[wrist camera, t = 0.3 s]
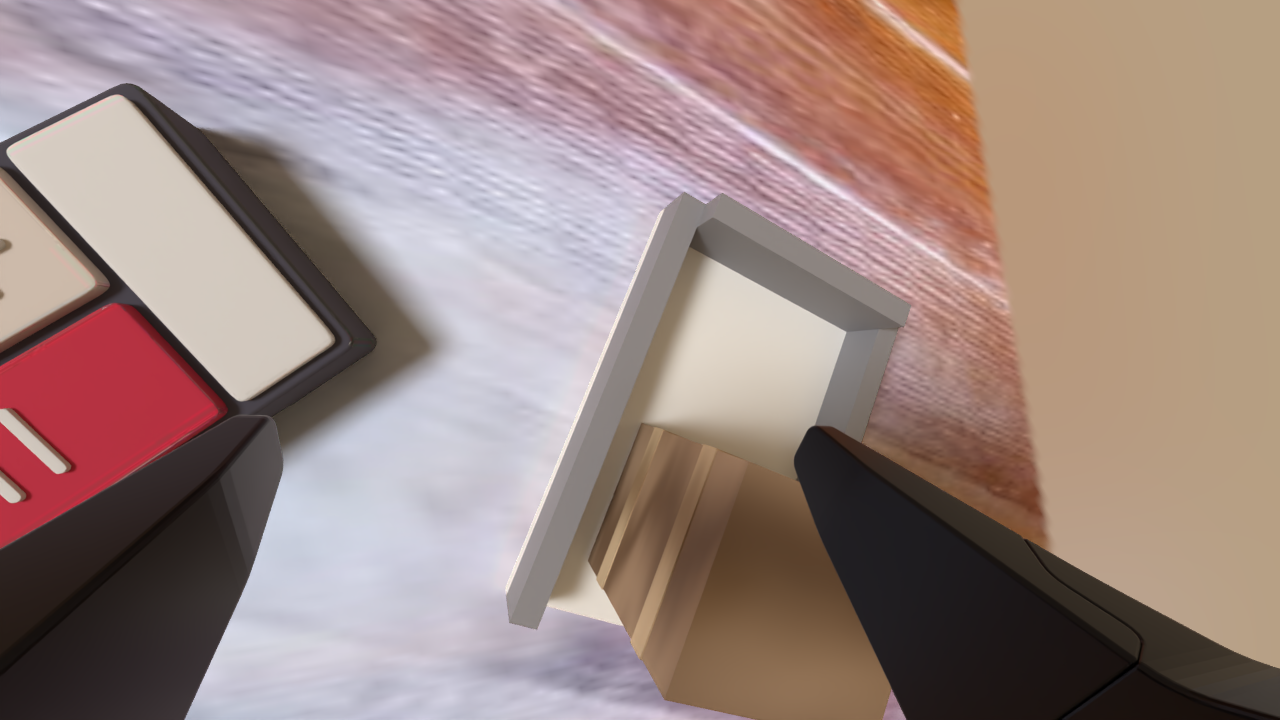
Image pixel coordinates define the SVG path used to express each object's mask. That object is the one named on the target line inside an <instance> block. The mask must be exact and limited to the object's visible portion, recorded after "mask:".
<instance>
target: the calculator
mask: <svg viewBox="0 0 1280 720" xmlns="http://www.w3.org/2000/svg"><path fill="white" fill-rule="evenodd" d="M375 346H376V339H375V337H374V335H373V334H372V333H371V332H370V330H369V329H368V328H367V327H366V326H365V324H364V323H363V322H362V321H361V320H360V318H359V317H358V316H357V315H356V314H355V313H354V311H353V310H352V309H351V308H350V307H349V305H348V304H347V303H346V302H345V301H344V300H343V298H342V297H341V296H340V295H339V294H338V292H337V291H336V290H335V289H334V288H333V287H332V285H331V284H330V283H329V282H328V281H327V279H326V278H325V277H324V276H323V275H322V274H321V272H320V271H319V270H318V269H317V268H316V266H315V265H314V264H313V263H312V262H311V260H310V259H309V258H308V257H307V256H306V255H305V253H304V252H303V251H302V250H301V249H300V247H299V246H298V245H297V244H296V243H295V242H294V240H293V239H292V238H291V237H290V236H289V234H288V233H287V232H286V231H285V230H284V229H283V227H282V226H281V225H280V224H279V223H278V221H277V220H276V219H275V218H274V217H273V215H272V214H271V213H270V212H269V211H268V210H267V208H266V207H265V206H264V205H263V204H262V202H261V201H260V200H259V199H258V198H257V197H256V195H255V194H254V193H253V192H252V191H251V189H250V188H249V187H248V186H247V185H246V184H245V182H244V181H243V180H242V179H241V178H240V176H239V175H238V174H237V173H236V172H235V171H234V169H233V168H232V167H231V166H230V165H229V163H228V162H227V161H226V160H225V159H224V157H223V156H222V155H221V154H220V153H219V152H218V150H217V149H216V148H215V147H214V146H213V144H212V143H211V142H210V141H209V140H208V139H207V137H206V136H205V135H204V134H203V133H202V132H201V131H200V130H199V129H197V128H196V127H195V126H193V125H192V124H190V123H189V122H188V121H186V120H185V119H184V118H182V117H181V116H179V115H178V114H177V113H175V112H174V111H172V110H171V109H170V108H168V107H167V106H166V105H164V104H163V103H161V102H160V101H159V100H157V99H156V98H154V97H153V96H152V95H150V94H149V93H147V92H146V91H144V90H143V89H142V88H140V87H139V86H136V85H134V84H128V83H125V84H120V85H118V86H116V87H113V88H111V89H109V90H107V91H105V92H103V93H101V94H99V95H97V96H95V97H93V98H91V99H89V100H87V101H84V102H82V103H80V104H78V105H76V106H74V107H72V108H70V109H68V110H66V111H64V112H62V113H60V114H58V115H56V116H54V117H52V118H50V119H48V120H46V121H44V122H42V123H40V124H38V125H36V126H34V127H32V128H30V129H27V130H25V131H23V132H21V133H19V134H17V135H15V136H13V137H11V138H9V139H7V140H5V141H3V142H1V143H0V548H2V547H4V546H6V545H8V544H9V543H11V542H13V541H15V540H16V539H18V538H20V537H22V536H23V535H25V534H27V533H29V532H30V531H32V530H34V529H36V528H37V527H39V526H41V525H43V524H44V523H46V522H48V521H50V520H52V519H53V518H55V517H57V516H59V515H60V514H62V513H64V512H66V511H67V510H69V509H71V508H73V507H74V506H76V505H78V504H80V503H81V502H83V501H85V500H87V499H88V498H90V497H92V496H94V495H96V494H97V493H99V492H101V491H103V490H104V489H106V488H108V487H110V486H111V485H113V484H115V483H117V482H118V481H120V480H122V479H124V478H125V477H127V476H129V475H131V474H132V473H134V472H136V471H138V470H140V469H141V468H143V467H145V466H147V465H148V464H150V463H152V462H154V461H155V460H157V459H159V458H161V457H162V456H164V455H166V454H168V453H169V452H171V451H173V450H175V449H176V448H178V447H180V446H182V445H184V444H185V443H187V442H189V441H191V440H192V439H194V438H196V437H198V436H199V435H201V434H203V433H205V432H206V431H208V430H210V429H212V428H213V427H215V426H217V425H219V424H220V423H222V422H224V421H226V420H228V419H229V418H231V417H234V416H237V415H267V416H270V417H272V416H273V415H275V414H277V413H278V412H280V411H281V410H283V409H285V408H286V407H288V406H290V405H292V404H293V403H295V402H296V401H298V400H300V399H301V398H303V397H304V396H306V395H307V394H308V393H310V392H311V391H313V390H314V389H316V388H317V387H319V386H320V385H322V384H323V383H325V382H326V381H328V380H329V379H331V378H332V377H334V376H335V375H337V374H338V373H340V372H341V371H343V370H344V369H346V368H347V367H349V366H350V365H352V364H353V363H355V362H356V361H358V360H359V359H361V358H362V357H364V356H365V355H367V354H368V353H369V352H371V351H372V350H373V349H374V348H375Z"/></svg>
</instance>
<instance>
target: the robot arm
mask: <svg viewBox="0 0 1280 720" xmlns="http://www.w3.org/2000/svg"><path fill="white" fill-rule="evenodd" d="M794 468H795V471H796V474H797V476H798V479H799V482H800V485H801V487H802V490H803V493H804V496H805V498H806V501H807V504H808V506H809V509H810V512H811V515H812V517H813V520H814V523H815V526H816V528H817V531H818V533H819V536H820V538H821V540H822V543H823V545H824V547H825V549H826V551H827V553H828V556H829V558H830V560H831V562H832V564H833V566H834V568H835V570H836V572H837V575H838V577H839V579H840V581H841V583H842V585H843V587H844V589H845V591H846V594H847V596H848V598H849V600H850V602H851V604H852V606H853V608H854V610H855V612H856V615H857V617H858V619H859V621H860V623H861V625H862V627H863V629H864V631H865V634H866V636H867V638H868V640H869V642H870V644H871V646H872V648H873V650H874V653H875V655H876V657H877V659H878V661H879V663H880V665H881V667H882V669H883V671H884V674H885V676H886V678H887V680H888V682H889V684H890V686H891V688H892V690H893V693H894V695H895V697H896V699H897V701H898V703H899V705H900V707H901V709H902V711H903V714H904V716H905V718H906V720H1280V669H1279V668H1276V667H1273V666H1270V665H1267V664H1264V663H1261V662H1258V661H1255V660H1252V659H1250V658H1248V657H1245V656H1243V655H1241V654H1238V653H1236V652H1234V651H1232V650H1230V649H1228V648H1226V647H1224V646H1222V645H1219V644H1218V643H1216V642H1214V641H1212V640H1210V639H1208V638H1206V637H1204V636H1203V635H1201V634H1199V633H1197V632H1195V631H1193V630H1191V629H1189V628H1188V627H1186V626H1184V625H1182V624H1180V623H1178V622H1176V621H1174V620H1172V619H1171V618H1169V617H1167V616H1165V615H1163V614H1161V613H1159V612H1158V611H1156V610H1154V609H1152V608H1150V607H1148V606H1146V605H1144V604H1142V603H1141V602H1139V601H1137V600H1135V599H1133V598H1131V597H1129V596H1127V595H1125V594H1124V593H1122V592H1120V591H1118V590H1116V589H1115V588H1113V587H1111V586H1109V585H1107V584H1105V583H1103V582H1102V581H1100V580H1098V579H1096V578H1094V577H1092V576H1090V575H1089V574H1087V573H1085V572H1083V571H1082V570H1080V569H1078V568H1076V567H1074V566H1073V565H1071V564H1069V563H1067V562H1066V561H1064V560H1062V559H1060V558H1059V557H1057V556H1055V555H1053V554H1052V553H1050V552H1048V551H1046V550H1045V549H1043V548H1041V547H1039V546H1038V545H1036V544H1034V543H1033V542H1031V541H1029V540H1027V539H1023V538H1022V537H1021V536H1020V535H1019V534H1017V533H1015V532H1013V531H1012V530H1010V529H1008V528H1007V527H1005V526H1003V525H1001V524H1000V523H998V522H996V521H995V520H993V519H991V518H989V517H988V516H986V515H984V514H982V513H981V512H979V511H977V510H976V509H974V508H972V507H970V506H969V505H967V504H965V503H964V502H962V501H960V500H958V499H957V498H955V497H953V496H951V495H950V494H948V493H946V492H945V491H943V490H941V489H939V488H938V487H936V486H934V485H933V484H931V483H929V482H927V481H926V480H924V479H922V478H920V477H919V476H917V475H915V474H914V473H912V472H910V471H908V470H907V469H905V468H903V467H902V466H900V465H898V464H896V463H895V462H893V461H891V460H889V459H888V458H886V457H884V456H883V455H881V454H879V453H877V452H876V451H874V450H872V449H871V448H869V447H867V446H865V445H864V444H862V443H860V442H858V441H857V440H855V439H853V438H852V437H850V436H848V435H846V434H845V433H843V432H841V431H840V430H838V429H836V428H834V427H832V426H827V425H814V426H811V427H810V428H809V429H808V430H807V432H806V434H805V436H804V438H803V439H802V441H801V443H800V445H799V447H798V449H797V451H796V453H795V456H794ZM282 471H283V456H282V451H281V446H280V441H279V436H278V432H277V427H276V423H275V421H274V419H273V418H272V417H270V416H267V415H237V416H234V417H231V418H229V419H228V420H226V421H224V422H222V423H220V424H219V425H217V426H215V427H213V428H212V429H210V430H208V431H206V432H205V433H203V434H201V435H199V436H198V437H196V438H194V439H192V440H191V441H189V442H187V443H185V444H184V445H182V446H180V447H178V448H176V449H175V450H173V451H171V452H169V453H168V454H166V455H164V456H162V457H161V458H159V459H157V460H155V461H154V462H152V463H150V464H148V465H147V466H145V467H143V468H141V469H140V470H138V471H136V472H134V473H132V474H131V475H129V476H127V477H125V478H124V479H122V480H120V481H118V482H117V483H115V484H113V485H111V486H110V487H108V488H106V489H104V490H103V491H101V492H99V493H97V494H96V495H94V496H92V497H90V498H88V499H87V500H85V501H83V502H81V503H80V504H78V505H76V506H74V507H73V508H71V509H69V510H67V511H66V512H64V513H62V514H60V515H59V516H57V517H55V518H53V519H52V520H50V521H48V522H46V523H44V524H43V525H41V526H39V527H37V528H36V529H34V530H32V531H30V532H29V533H27V534H25V535H23V536H22V537H20V538H18V539H16V540H15V541H13V542H11V543H9V544H8V545H6V546H4V547H2V548H0V720H185V717H186V715H187V713H188V711H189V709H190V706H191V704H192V702H193V700H194V698H195V695H196V693H197V691H198V689H199V687H200V684H201V682H202V680H203V678H204V676H205V674H206V671H207V669H208V667H209V665H210V663H211V660H212V658H213V656H214V654H215V652H216V649H217V647H218V645H219V643H220V641H221V638H222V636H223V634H224V632H225V630H226V627H227V625H228V623H229V621H230V619H231V617H232V614H233V612H234V610H235V608H236V606H237V603H238V601H239V599H240V597H241V595H242V592H243V590H244V588H245V585H246V583H247V580H248V578H249V576H250V573H251V570H252V567H253V564H254V561H255V558H256V555H257V552H258V549H259V545H260V542H261V539H262V536H263V533H264V530H265V526H266V523H267V520H268V517H269V514H270V511H271V507H272V504H273V501H274V498H275V495H276V492H277V488H278V485H279V482H280V479H281V476H282Z"/></svg>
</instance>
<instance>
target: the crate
mask: <svg viewBox="0 0 1280 720" xmlns="http://www.w3.org/2000/svg"><path fill="white" fill-rule="evenodd" d="M588 562H589V564H590V566H591V568H592V569H593V571H594V573H595V575H596V577H597V578H596V580H597V582H598V584H599V586H600V588H601V589H602V590H604V591H605V593H606V595H607V597H608V598H609V600H610V602H611V604H612V606H613V607H614V609H615V611H616V613H617V615H618V617H619V618H620V620H621V622H622V624H623V626H624V627H625V629H626V631H627V633H628V635H629V636H630V638H631V641H630V643H631V645H632V646H633V648H634V650H635V652H636V654H637V656H638V658H639V659H640V660H643V662H644V664H645V665H646V667H647V669H648V671H649V673H650V674H651V676H652V678H653V680H654V682H655V684H656V685H657V687H658V689H659V691H660V693H661V694H662V696H663V698H664V700H667V701H672V702H677V703H681V704H686V705H691V706H695V707H700V708H705V709H709V710H714V711H719V712H723V713H728V714H733V715H737V716H742V717H747V718H751V719H756V720H882V719H883V716H884V712H885V709H886V705H887V702H888V699H889V695H890V692H891V686H890V684H889V682H888V680H887V678H886V676H885V674H884V671H883V669H882V667H881V665H880V663H879V661H878V659H877V657H876V655H875V653H874V650H873V648H872V646H871V644H870V642H869V640H868V638H867V636H866V634H865V631H864V629H863V627H862V625H861V623H860V621H859V619H858V617H857V615H856V612H855V610H854V608H853V606H852V604H851V602H850V600H849V598H848V596H847V594H846V591H845V589H844V587H843V585H842V583H841V581H840V579H839V577H838V575H837V572H836V570H835V568H834V566H833V564H832V562H831V560H830V558H829V556H828V553H827V551H826V549H825V547H824V545H823V543H822V540H821V538H820V536H819V533H818V531H817V528H816V526H815V523H814V520H813V517H812V515H811V512H810V509H809V506H808V504H807V501H806V498H805V496H804V493H803V490H802V487H801V485H800V482H799V481H796V480H794V479H791V478H789V477H786V476H784V475H781V474H779V473H776V472H774V471H771V470H769V469H767V468H764V467H762V466H759V465H757V464H754V463H752V462H749V461H747V460H744V459H742V458H739V457H737V456H735V455H732V454H730V453H727V452H725V451H722V450H720V449H717V448H715V447H712V446H709V445H706V444H703V445H702V444H699V443H696V442H693V441H691V440H688V439H686V438H683V437H681V436H678V435H676V434H673V433H671V432H668V431H666V430H664V429H661V428H658V427H652V426H649V425H646V424H643V423H641V425H640V428H639V431H638V433H637V436H636V438H635V441H634V443H633V446H632V448H631V451H630V454H629V456H628V459H627V461H626V464H625V466H624V469H623V471H622V474H621V477H620V479H619V482H618V484H617V487H616V489H615V492H614V494H613V497H612V500H611V502H610V505H609V507H608V510H607V512H606V515H605V518H604V520H603V523H602V525H601V528H600V530H599V533H598V535H597V538H596V541H595V543H594V546H593V548H592V551H591V553H590V556H589V558H588Z"/></svg>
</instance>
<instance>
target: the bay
mask: <svg viewBox="0 0 1280 720" xmlns="http://www.w3.org/2000/svg"><path fill="white" fill-rule="evenodd" d="M910 308H911V305H910V304H908V303H907V302H905V301H903V300H901V299H900V298H898V297H896V296H895V295H893V294H891V293H890V292H888V291H886V290H885V289H883V288H881V287H880V286H878V285H876V284H875V283H873V282H871V281H870V280H868V279H866V278H865V277H863V276H861V275H859V274H858V273H856V272H854V271H853V270H851V269H849V268H848V267H846V266H844V265H843V264H841V263H839V262H838V261H836V260H834V259H833V258H831V257H829V256H828V255H826V254H824V253H822V252H821V251H819V250H817V249H816V248H814V247H812V246H811V245H809V244H807V243H806V242H804V241H802V240H801V239H799V238H797V237H796V236H794V235H792V234H791V233H789V232H787V231H786V230H784V229H782V228H780V227H779V226H777V225H775V224H774V223H772V222H770V221H769V220H767V219H765V218H764V217H762V216H760V215H759V214H757V213H755V212H754V211H752V210H750V209H749V208H747V207H745V206H743V205H742V204H740V203H738V202H737V201H735V200H733V199H732V198H730V197H728V196H727V195H725V194H723V193H722V194H720V195H719V196H717V197H716V198H714V199H713V200H712V201H710V202H709V203H707V204H704V203H702V202H701V201H699V200H697V199H696V198H694V197H692V196H690V195H689V194H687V193H685V192H684V193H682V194H681V195H680V196H679V197H678V198H676V199H675V200H674V201H673V202H672V203H670V204H669V205H668V206H667V207H666V208H664V209H663V210H662V211H661V212H660V213H659V215H658V218H657V220H656V222H655V225H654V227H653V230H652V232H651V235H650V237H649V239H648V242H647V244H646V247H645V249H644V252H643V254H642V256H641V259H640V261H639V264H638V266H637V269H636V271H635V274H634V276H633V278H632V281H631V283H630V286H629V288H628V291H627V293H626V295H625V298H624V300H623V303H622V305H621V308H620V310H619V312H618V315H617V317H616V320H615V322H614V325H613V327H612V329H611V332H610V334H609V337H608V339H607V342H606V344H605V347H604V349H603V351H602V354H601V356H600V359H599V361H598V364H597V366H596V368H595V371H594V373H593V376H592V378H591V381H590V383H589V385H588V388H587V390H586V393H585V395H584V398H583V400H582V403H581V405H580V407H579V410H578V412H577V415H576V417H575V420H574V422H573V424H572V427H571V429H570V432H569V434H568V437H567V439H566V441H565V444H564V446H563V449H562V451H561V454H560V456H559V459H558V461H557V463H556V466H555V468H554V471H553V473H552V476H551V478H550V480H549V483H548V485H547V488H546V490H545V493H544V495H543V497H542V500H541V502H540V505H539V507H538V510H537V512H536V515H535V517H534V519H533V522H532V524H531V527H530V529H529V532H528V534H527V536H526V539H525V541H524V544H523V546H522V549H521V551H520V553H519V556H518V558H517V561H516V563H515V566H514V568H513V571H512V573H511V575H510V578H509V580H508V583H507V585H506V588H505V590H506V598H507V607H508V615H509V623H512V624H516V625H520V626H524V627H528V628H533V629H537V628H538V626H539V623H540V621H541V618H542V616H543V613H544V611H545V608H546V606H547V607H551V608H555V609H559V610H563V611H567V612H571V613H574V614H578V615H582V616H586V617H590V618H594V619H598V620H602V621H605V622H609V623H613V624H617V625H621V626H623V624H622V622H621V620H620V618H619V617H618V615H617V613H616V611H615V609H614V607H613V606H612V604H611V602H610V600H609V598H608V597H607V595H606V593H605V591H604V590H602V589H601V588H600V586H599V584H598V582H597V580H596V578H597V577H596V575H595V573H594V571H593V569H592V568H591V566H590V564H589V562H588V558H589V556H590V553H591V551H592V548H593V546H594V543H595V541H596V538H597V535H598V533H599V530H600V528H601V525H602V523H603V520H604V518H605V515H606V512H607V510H608V507H609V505H610V502H611V500H612V497H613V494H614V492H615V489H616V487H617V484H618V482H619V479H620V477H621V474H622V471H623V469H624V466H625V464H626V461H627V459H628V456H629V454H630V451H631V448H632V446H633V443H634V441H635V438H636V436H637V433H638V431H639V428H640V425H641V423H643V424H646V425H649V426H652V427H658V428H661V429H664V430H666V431H668V432H671V433H673V434H676V435H678V436H681V437H683V438H686V439H688V440H691V441H693V442H696V443H699V444H702V445H703V444H706V445H709V446H712V447H715V448H717V449H720V450H722V451H725V452H727V453H730V454H732V455H735V456H737V457H739V458H742V459H744V460H747V461H749V462H752V463H754V464H757V465H759V466H762V467H764V468H767V469H769V470H771V471H774V472H776V473H779V474H781V475H784V476H786V477H789V478H791V479H794V480H796V481H799V479H798V476H797V474H796V471H795V468H794V456H795V453H796V451H797V449H798V447H799V445H800V443H801V441H802V439H803V438H804V436H805V434H806V432H807V430H808V429H809V428H810V427H811V426H814V425H827V426H832V427H834V428H836V429H838V430H840V431H841V432H843V433H845V434H846V435H848V436H850V437H852V438H853V439H855V440H857V441H858V442H860V443H861V442H862V439H863V436H864V433H865V430H866V427H867V424H868V421H869V417H870V414H871V411H872V408H873V405H874V402H875V399H876V396H877V393H878V390H879V387H880V384H881V381H882V377H883V374H884V371H885V368H886V365H887V362H888V359H889V356H890V353H891V350H892V347H893V344H894V340H895V337H896V334H897V331H898V328H899V327H904V326H905V323H906V320H907V317H908V314H909V311H910Z"/></svg>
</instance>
